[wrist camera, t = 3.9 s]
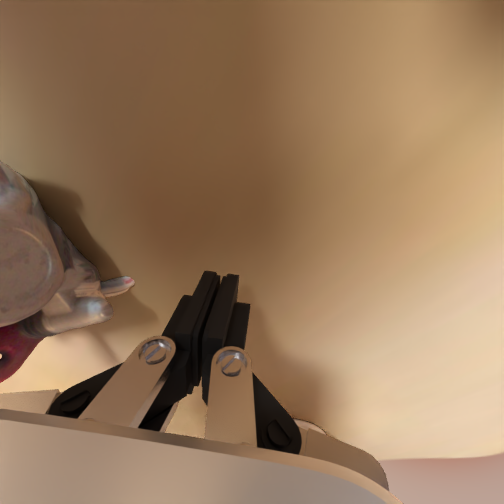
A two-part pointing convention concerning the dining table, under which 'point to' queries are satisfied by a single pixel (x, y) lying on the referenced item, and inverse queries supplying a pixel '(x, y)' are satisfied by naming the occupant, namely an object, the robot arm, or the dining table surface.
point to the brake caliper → (42, 277)
